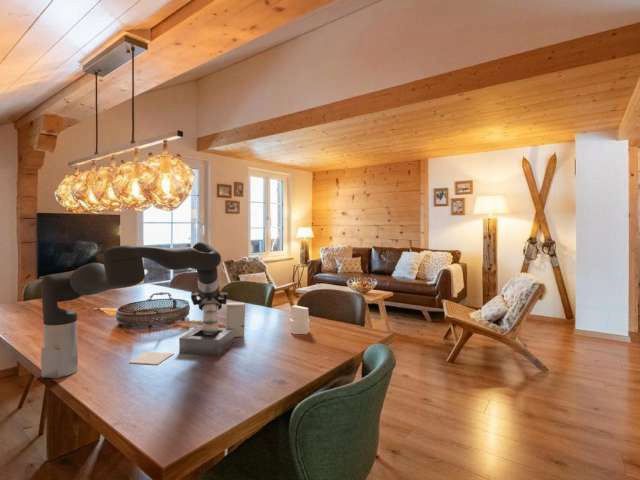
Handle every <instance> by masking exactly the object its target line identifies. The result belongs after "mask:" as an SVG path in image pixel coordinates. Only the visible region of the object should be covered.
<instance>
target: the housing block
mask: <svg viewBox="0 0 640 480" xmlns="http://www.w3.org/2000/svg"><path fill="white" fill-rule="evenodd" d="M234 338H235V337H234V329H230V328H226V327H219V329H218V332H217V333H216V334H212V335H206V334H204V333H203V332H202V326H198V327H196V328H193V330H190V331H189V332H187V333H186V334H184V335H182V336H181V337H179V340H178V341H179V342H178V344H179V349H178V350H179V351H178V352H179V354H187V355H203V356H217V357H219V356H220V355H221V354H222V353H223V352H224V351H227V349H228V348H229V347H231V345H232V343H234V342H235V341H234V340H235V339H234Z"/></svg>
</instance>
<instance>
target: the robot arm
mask: <svg viewBox="0 0 640 480" xmlns="http://www.w3.org/2000/svg"><path fill="white" fill-rule="evenodd" d="M143 258H144V259H148V260H150V261H152V262H153V263H156V264H157V265H160V266H161V267H163V268H165V269H168V270H172V271H180V270H187V269H192V270H196V271H197V272H196V274H197V286H198V292H195V291H191V294H190V295H191V296H190V299H191V302H192V304H193V305H194V306H197V305H198V310H200V311H203V304H204V302H205V301H214V302H215V303H217V304H218V307H217V311H220V310H221V309H222V305H226V303H227V300H228V291H227V290H224V291H220V280H219V279H220V278H219V276H218V274H219V273H218V266H219V265H220V264H221V261H222V257H221V254H220V252H218V251H217V250H216V249H215V248H213V247H212V246H211V245H210V244H209V243H208V242H205V241H200V242H196V243H195V244H194V245H193V246H192V247H190V246H182V247H161V246H150V245H148V246H147V245H137V244H135V245H133V244H132V245H131V244H130V245H129V244H127V245H126V244H125V245H118V246H114V247H110V248H107V249H106V250H104V251H103V253H102V261H103V263H101V262H91V263H87V264H85V265H81V266H79V267H78V268H76V269H75V270H74V271H73V272H69V273H59V274H58V273H56V274H48V275H45V276H43V277H42V280H41V283H40V284H41V285H40V293H41V303H42V304H41V305H42V306H41V307H42V319H43V347H42V348H41V349H40V356H41V357H40V359H41V360H40V361H41V362H40V363H41V365H40V366H41V378H45V379H46V378H49V379H51V378H52V379H60V378H63V377H67V376H71V375H73V374H74V373H77V372H78V370H79V356H78V355H79V354H78V353H79V349H78V347H79V346H78V345H79V344H78V313H77V311H75V310H71V309H64V308H61V307H59V304H58V303H61V302H68V301H73V300H77V299H80V298H82V297H83V296H92V295H96V294H100V293H103V292H106V291H110V290H118V289H124V288H131V287H135V286H137V285H139V284H141V283H142V282H143V281H144V280H145V277H146V276H145V275H146V274H145V273H146V272H145V266H144V262H143V261H144V260H143ZM221 297H222V298H221ZM198 298H199V299H198Z"/></svg>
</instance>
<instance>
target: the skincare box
mask: <svg viewBox="0 0 640 480" xmlns="http://www.w3.org/2000/svg"><path fill="white" fill-rule="evenodd" d="M225 305H226V309H225V314H226V315H225V328H230V329H234V338H237V337H238V338H239V337H240V338H241V337H245V325H246V324H245V317H246V303H245V302H242V301H241V302H239V301H238V302H236V301H235V302H226V304H225Z"/></svg>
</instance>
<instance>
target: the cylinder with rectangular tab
mask: <svg viewBox="0 0 640 480" xmlns="http://www.w3.org/2000/svg"><path fill="white" fill-rule="evenodd" d="M290 308H291V309H290V310H291V312H290V314H291V315H290V317H291V318H290V319H289V321H290V322H289V326H290V327H289V333H290V332H291V333H293V334H292V335H294V334H305V333H308V332H309V333H310V318H309V307H305V306H300V305H296V304H295V305H291V306H290ZM291 333H290V334H291ZM309 333H308V334H309ZM305 335H306V334H305Z"/></svg>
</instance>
